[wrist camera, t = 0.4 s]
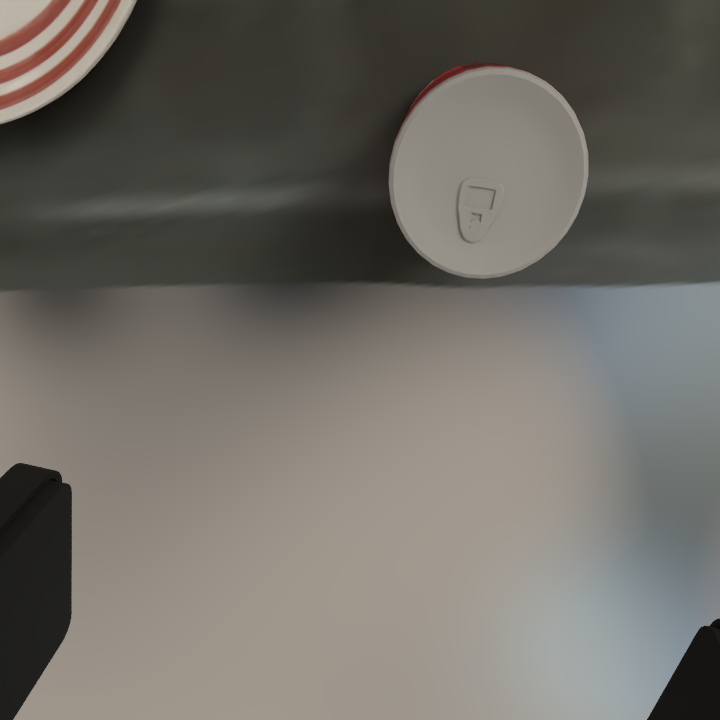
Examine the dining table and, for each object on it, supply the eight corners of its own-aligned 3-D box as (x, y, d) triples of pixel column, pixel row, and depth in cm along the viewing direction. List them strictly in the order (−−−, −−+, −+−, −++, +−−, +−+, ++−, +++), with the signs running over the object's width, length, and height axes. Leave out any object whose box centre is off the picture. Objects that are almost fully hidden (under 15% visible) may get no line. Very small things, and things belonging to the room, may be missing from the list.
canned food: (409, 226, 38) (399, 289, 28) (391, 73, 34) (373, 83, 25) (549, 210, 37) (591, 270, 27) (544, 50, 33) (591, 51, 23)
